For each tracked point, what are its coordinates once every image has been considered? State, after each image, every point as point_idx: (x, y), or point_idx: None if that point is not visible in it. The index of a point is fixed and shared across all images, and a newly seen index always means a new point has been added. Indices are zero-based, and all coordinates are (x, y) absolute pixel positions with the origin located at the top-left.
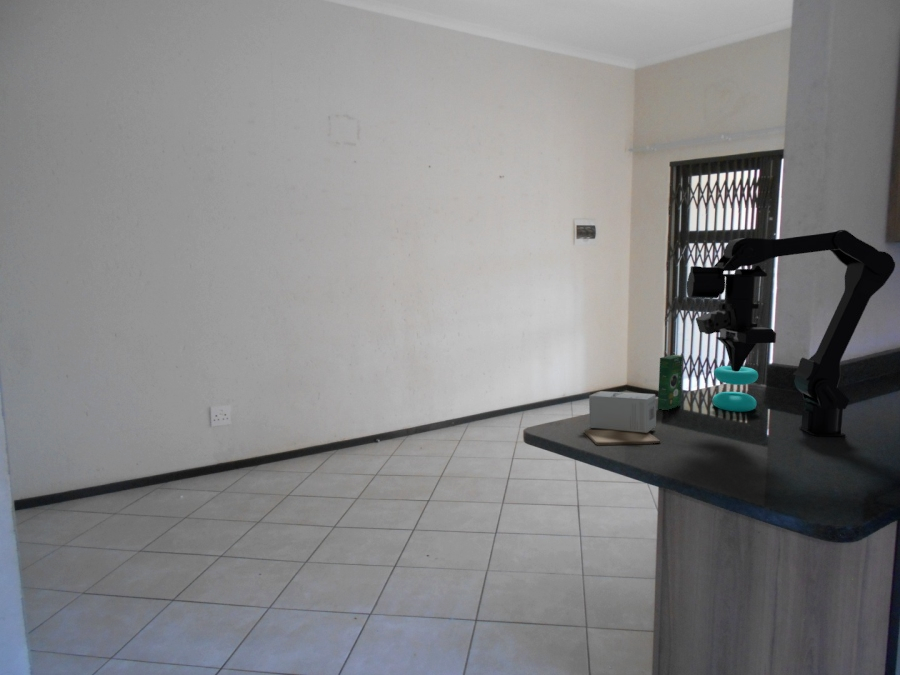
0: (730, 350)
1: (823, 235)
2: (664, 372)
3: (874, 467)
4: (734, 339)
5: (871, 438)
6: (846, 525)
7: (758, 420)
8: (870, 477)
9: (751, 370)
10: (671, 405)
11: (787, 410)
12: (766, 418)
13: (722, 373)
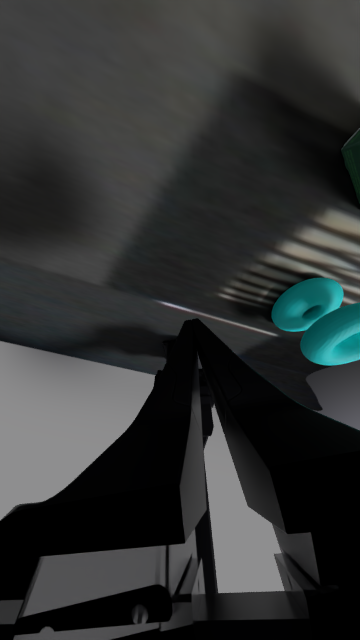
0: (216, 385)
1: None
2: None
3: (75, 350)
4: (133, 557)
5: None
6: None
7: (229, 312)
8: (38, 340)
9: (324, 360)
10: (356, 166)
11: (263, 347)
12: (237, 322)
13: (357, 315)
